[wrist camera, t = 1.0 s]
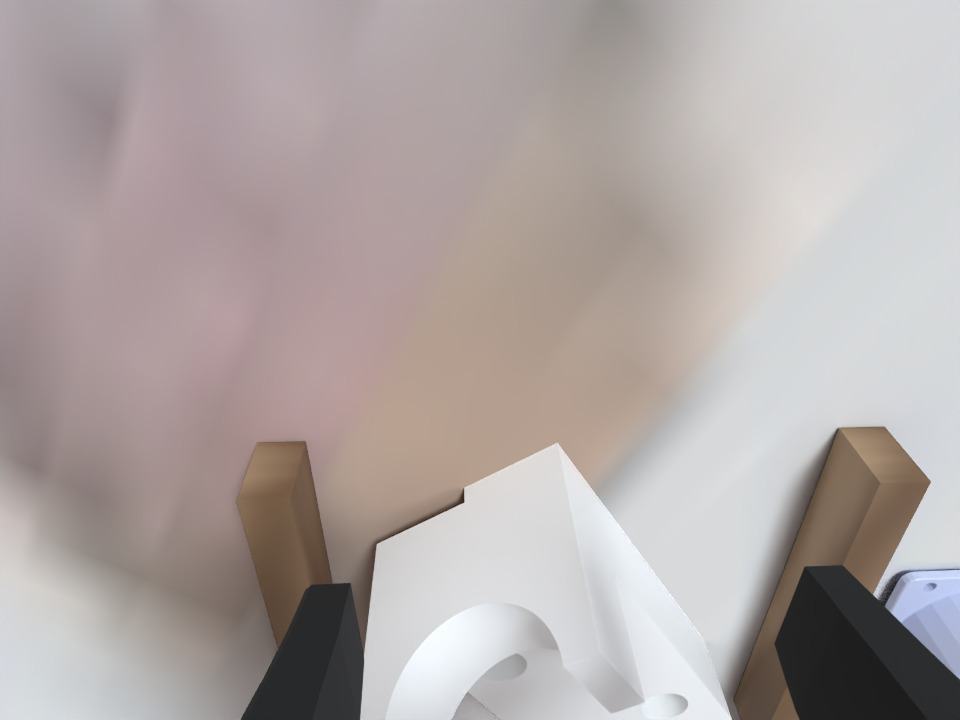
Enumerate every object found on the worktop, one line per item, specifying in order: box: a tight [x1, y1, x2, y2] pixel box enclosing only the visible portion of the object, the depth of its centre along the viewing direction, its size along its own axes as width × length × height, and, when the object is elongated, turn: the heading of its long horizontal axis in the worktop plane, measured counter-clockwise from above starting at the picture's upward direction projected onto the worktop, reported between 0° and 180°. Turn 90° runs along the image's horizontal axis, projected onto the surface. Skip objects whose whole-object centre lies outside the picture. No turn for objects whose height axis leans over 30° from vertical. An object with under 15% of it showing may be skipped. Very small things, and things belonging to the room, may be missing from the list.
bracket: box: [360, 443, 732, 720], centre depth 23 cm, size 13×7×8 cm, turn 32°
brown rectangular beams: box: [236, 427, 931, 720], centre depth 25 cm, size 20×16×2 cm
